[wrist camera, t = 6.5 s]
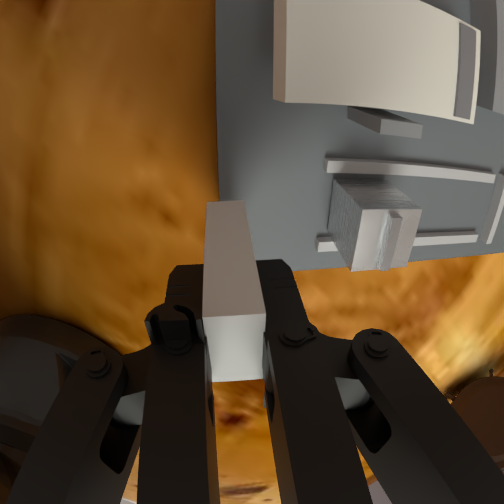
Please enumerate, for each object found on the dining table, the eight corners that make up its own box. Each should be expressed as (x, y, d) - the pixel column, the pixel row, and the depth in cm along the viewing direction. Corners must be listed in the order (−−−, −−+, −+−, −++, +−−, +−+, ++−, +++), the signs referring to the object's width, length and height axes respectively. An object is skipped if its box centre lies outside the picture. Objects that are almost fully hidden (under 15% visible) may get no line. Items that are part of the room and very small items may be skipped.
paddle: (272, 99, 10) (286, 103, 9) (273, -28, 8) (288, -38, 6) (456, 118, 13) (475, 125, 11) (462, 29, 10) (482, 31, 9)
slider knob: (327, 232, 16) (353, 276, 13) (333, 178, 15) (366, 214, 12) (376, 230, 17) (410, 271, 14) (386, 179, 15) (427, 213, 12)
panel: (222, 264, 18) (226, 317, 15) (216, -65, 9) (218, -105, 5) (496, 245, 20) (527, 276, 17) (534, 33, 11) (577, 42, 7)
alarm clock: (417, 417, 37) (460, 529, 20) (427, 394, 33) (481, 523, 16) (492, 379, 36) (541, 474, 19) (507, 352, 32) (566, 457, 15)
